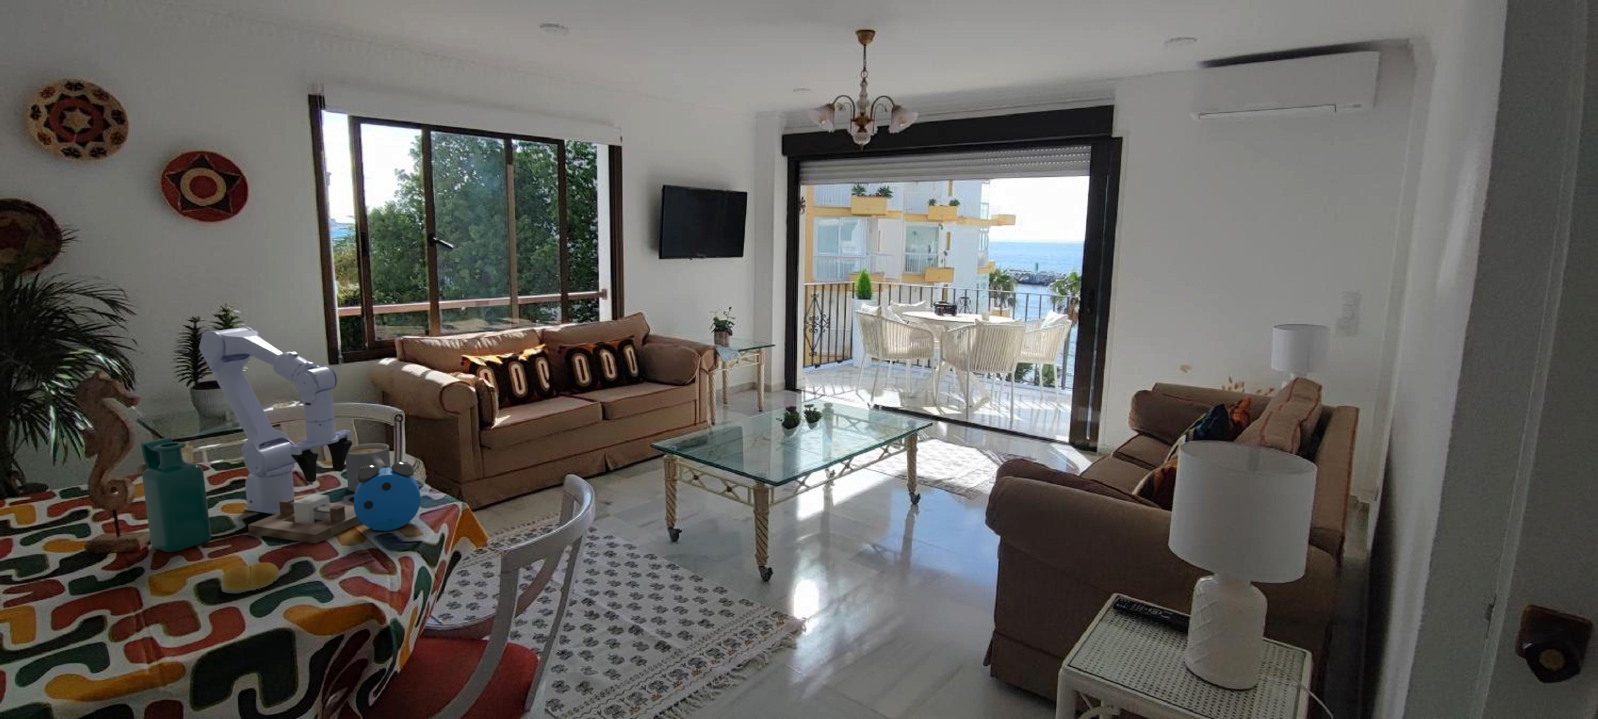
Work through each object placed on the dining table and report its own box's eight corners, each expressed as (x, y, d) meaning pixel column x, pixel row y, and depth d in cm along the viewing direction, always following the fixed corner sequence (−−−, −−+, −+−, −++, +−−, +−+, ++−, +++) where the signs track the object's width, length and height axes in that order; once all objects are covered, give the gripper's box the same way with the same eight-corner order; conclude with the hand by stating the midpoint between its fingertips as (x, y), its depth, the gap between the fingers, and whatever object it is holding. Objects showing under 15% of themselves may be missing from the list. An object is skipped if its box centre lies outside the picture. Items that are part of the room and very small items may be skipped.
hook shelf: (249, 533, 168) (246, 511, 167) (311, 508, 183) (309, 488, 182) (315, 543, 163) (313, 521, 162) (374, 516, 179) (372, 496, 178)
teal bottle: (215, 540, 164) (204, 441, 160) (170, 554, 156) (156, 451, 153) (189, 531, 168) (177, 434, 164) (143, 545, 161) (130, 444, 157)
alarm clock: (421, 517, 179) (417, 456, 176) (422, 527, 173) (418, 463, 171) (356, 527, 172) (351, 463, 170) (356, 537, 167) (350, 471, 164)
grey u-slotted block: (295, 525, 171) (293, 502, 170) (316, 516, 176) (314, 493, 175) (310, 527, 170) (307, 503, 169) (331, 518, 175) (329, 495, 174)
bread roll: (279, 587, 145) (277, 567, 144) (220, 598, 140) (218, 578, 139) (279, 570, 151) (278, 551, 151) (223, 581, 146) (221, 561, 146)
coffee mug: (344, 484, 200) (341, 447, 198) (386, 476, 206) (384, 441, 204) (355, 498, 190) (351, 459, 188) (398, 490, 196) (396, 453, 194)
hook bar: (284, 508, 174) (284, 502, 173) (290, 506, 175) (289, 500, 175) (335, 515, 170) (334, 509, 170) (340, 513, 172) (339, 507, 171)
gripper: (306, 428, 167) (312, 487, 170) (359, 413, 181) (364, 468, 184) (280, 425, 169) (286, 484, 172) (335, 411, 183) (339, 465, 185)
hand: (325, 476), depth 178 cm, fingers open, 7 cm apart
